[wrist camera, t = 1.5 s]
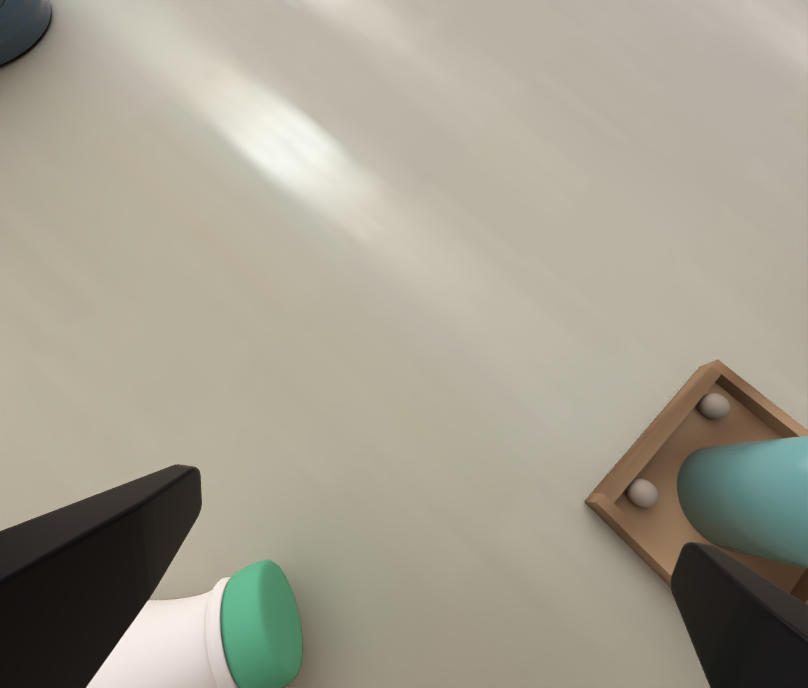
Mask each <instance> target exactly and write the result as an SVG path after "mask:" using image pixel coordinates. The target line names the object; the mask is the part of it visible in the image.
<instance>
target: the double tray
mask: <svg viewBox="0 0 808 688" xmlns="http://www.w3.org/2000/svg"><path fill="white" fill-rule="evenodd" d="M800 436H808V430H807V429H805V428H804V427H803V426H802V425H800V424H799V423H798V422H797V421H795V420H794V419H793V418H791V417H790V416H789V415H788V414H786V413H785V412H784V411H783V410H781V409H780V408H779V407H777V406H776V405H775V404H774V403H772V402H771V401H770V400H769V399H767V398H766V397H765V396H764V395H762V394H761V393H760V392H758V391H757V390H756V389H755V388H753V387H752V386H751V385H750V384H748V383H747V382H746V381H744V380H743V379H742V378H741V377H739V376H738V375H737V374H736V373H734V372H733V371H732V370H731V369H729V368H728V367H727V366H725V365H724V364H723V363H722V362H720V361H719V360H715V361H713V362H710V363H708V364H705V365H703V366H700V367H699V368H698V370H697V371H696V372H695V373H694V374H693V375H692V377H691V378H690V379H689V380H688V381H687V382H686V384H685V385H684V386H683V387H682V388H681V389H680V391H679V392H678V393H677V394H676V395H675V396H674V398H673V399H672V400H671V401H670V402H669V403H668V405H667V406H666V407H665V408H664V409H663V410H662V412H661V413H660V414H659V415H658V416H657V417H656V419H655V420H654V421H653V422H652V423H651V424H650V426H649V427H648V428H647V429H646V430H645V431H644V433H643V434H642V435H641V436H640V437H639V438H638V439H637V441H636V442H635V443H634V444H633V445H632V446H631V448H630V449H629V450H628V451H627V452H626V453H625V455H624V456H623V457H622V458H621V459H620V460H619V462H618V463H617V464H616V465H615V466H614V467H613V469H612V470H611V471H610V472H609V473H608V474H607V476H606V477H605V478H604V479H603V480H602V481H601V483H600V484H599V485H598V486H597V487H596V488H595V490H594V491H593V492H592V493H591V494H590V495H589V497H588V498H587V499H586V500H585V502H586V503H587V504H588V505H589V506H590V507H591V508H592V509H593V510H594V511H595V512H596V513H597V514H598V515H599V516H600V517H601V518H602V519H603V520H604V521H605V522H606V523H607V524H608V525H609V526H610V527H611V528H612V529H613V530H614V531H615V532H616V533H617V534H618V535H619V536H620V537H621V538H622V539H623V540H624V541H625V542H626V543H627V544H628V545H629V546H630V547H631V548H632V549H633V550H634V551H635V552H636V553H637V554H638V555H639V556H640V557H641V558H642V559H643V560H644V561H645V562H646V563H647V564H648V565H649V566H650V567H651V568H653V569H654V570H655V571H656V572H657V573H658V574H659V575H660V576H661V577H662V578H663V579H664V580H665V581H666V582H667V583H668V584H669V585H670V586H671V575H672V572H673V570H674V567H675V564H676V562H677V559H678V556H679V554H680V551H681V549H682V547H683V545H684V544H685V543H687V542H696V543H703V544H709V545H713V546H715V547H717V548H719V549H720V550H722V551H723V552H725V553H726V554H728V555H730V556H731V557H733V558H734V559H736V560H737V561H739V562H741V563H742V564H744V565H745V566H747V567H749V568H750V569H752V570H753V571H755V572H756V573H758V574H760V575H761V576H763V577H764V578H766V579H767V580H769V581H771V582H772V583H774V584H775V585H777V586H778V587H780V588H782V589H783V590H785V591H786V592H788V593H789V594H791V595H793V596H794V597H796V598H797V599H799V600H800V601H802V602H804V603H805V604H807V605H808V569H807V568H803V567H798V566H794V565H789V564H785V563H781V562H776V561H772V560H767V559H763V558H759V557H754V556H750V555H745V554H741V553H737V552H732V551H729V550H725V549H723V548H720V547H718V546H716V545H714V544H712V543H711V542H709V541H708V540H706V539H705V538H704V537H703V536H702V535H700V534H699V533H698V532H697V531H696V530H695V528H694V527H693V526H692V525H691V523H690V522H689V521H688V519H687V517H686V516H685V514H684V512H683V510H682V508H681V505H680V502H679V498H678V493H677V478H678V473H679V470H680V467H681V465H682V463H683V462H684V460H685V459H686V458H687V457H688V456H689V455H690V454H691V453H693V452H694V451H696V450H698V449H700V448H703V447H707V446H715V445H724V444H734V443H743V442H753V441H762V440H772V439H781V438H790V437H800Z"/></svg>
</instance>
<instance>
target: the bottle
mask: <svg viewBox="0 0 808 688" xmlns="http://www.w3.org/2000/svg"><path fill="white" fill-rule="evenodd" d="M677 493H678V498H679V502H680V505H681V508H682V510H683V512H684V514H685V516H686V517H687V519H688V521H689V522H690V523H691V525H692V526H693V527H694V528H695V530H696V531H697V532H698V533H699V534H700V535H702V536H703V537H704V538H705V539H706V540H708V541H709V542H711V543H712V544H714V545H716V546H718V547H720V548H723V549H725V550H729V551H732V552H737V553H741V554H745V555H750V556H754V557H759V558H763V559H767V560H772V561H776V562H781V563H785V564H789V565H794V566H798V567H803V568H807V569H808V436H800V437H790V438H781V439H772V440H762V441H753V442H743V443H734V444H724V445H715V446H707V447H703V448H700V449H698V450H696V451H694V452H693V453H691V454H690V455H689V456H688V457H687V458H686V459H685V460H684V462H683V463H682V465H681V467H680V470H679V473H678V478H677Z"/></svg>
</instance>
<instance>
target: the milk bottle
mask: <svg viewBox="0 0 808 688" xmlns="http://www.w3.org/2000/svg"><path fill="white" fill-rule="evenodd" d="M302 651H303V643H302V630H301V623H300V617H299V613H298V608H297V604H296V601H295V597H294V595H293V592H292V589H291V587H290V584H289V582H288V580H287V578H286V576H285V574H284V573H283V571H282V570H281V568H280V567H279V566H278V565H277V564H276V563H274V562H273V561H271V560H264V561H259V562H257V563H255V564H252V565H250V566H248V567H246V568H244V569H242V570H240V571H238V572H236V573H235V574H234V575H233V576H231V577H227V578H223V579H221V580H220V581H218V582H217V583H216V585H215V586H214V588H213V590H212V591H210V592H207V593H204V594H201V595H198V596H193V597H188V598H182V599H174V600H148V601H147V603H146V604H145V606H144V607H143V608H142V610H141V611H140V613H139V614H138V616H137V617H136V618H135V620H134V621H133V623H132V624H131V625H130V627H129V628H128V630H127V631H126V632H125V634H124V635H123V637H122V638H121V639H120V641H119V642H118V644H117V645H116V646H115V648H114V649H113V651H112V652H111V653H110V655H109V656H108V658H107V659H106V660H105V662H104V663H103V665H102V666H101V668H100V669H99V670H98V672H97V673H96V675H95V676H94V677H93V679H92V680H91V682H90V683H89V684H88V686H87V687H86V688H283V687H285V686H287V685H288V684H289V683H290V682H292V681H293V680H294V679H295V678H296V676H297V675H298V672H299V669H300V666H301V661H302Z"/></svg>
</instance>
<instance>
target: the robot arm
mask: <svg viewBox="0 0 808 688" xmlns="http://www.w3.org/2000/svg"><path fill="white" fill-rule="evenodd" d="M201 506H202V496H201V475H200V471H199V469H198V468H196V467H193V466H187V465H179V464H177V465H173V466H170V467H168V468H165V469H162V470H160V471H157V472H154V473H152V474H149V475H147V476H144V477H141V478H139V479H136V480H133V481H131V482H128V483H126V484H123V485H120V486H118V487H115V488H112V489H110V490H107V491H105V492H102V493H99V494H97V495H94V496H91V497H89V498H86V499H84V500H81V501H78V502H76V503H73V504H70V505H68V506H65V507H63V508H60V509H57V510H55V511H52V512H49V513H47V514H44V515H42V516H39V517H36V518H34V519H31V520H28V521H26V522H23V523H21V524H18V525H15V526H13V527H10V528H7V529H5V530H2V531H0V688H86V687H87V686H88V684H89V683H90V682H91V680H92V679H93V677H94V676H95V675H96V673H97V672H98V670H99V669H100V668H101V666H102V665H103V663H104V662H105V660H106V659H107V658H108V656H109V655H110V653H111V652H112V651H113V649H114V648H115V646H116V645H117V644H118V642H119V641H120V639H121V638H122V637H123V635H124V634H125V632H126V631H127V630H128V628H129V627H130V625H131V624H132V623H133V621H134V620H135V618H136V617H137V616H138V614H139V613H140V611H141V610H142V608H143V607H144V606H145V604H146V603H147V601H148V600H149V598H150V597H151V595H152V594H153V592H154V590H155V589H156V587H157V586H158V584H159V582H160V581H161V579H162V577H163V575H164V574H165V572H166V570H167V569H168V567H169V565H170V564H171V562H172V560H173V558H174V557H175V555H176V553H177V552H178V550H179V548H180V547H181V545H182V543H183V541H184V540H185V538H186V536H187V535H188V533H189V531H190V530H191V528H192V526H193V524H194V523H195V521H196V519H197V518H198V516H199V513H200V510H201ZM671 589H672V593H673V596H674V598H675V601H676V603H677V606H678V608H679V611H680V613H681V616H682V618H683V621H684V623H685V626H686V628H687V631H688V633H689V636H690V638H691V641H692V643H693V646H694V648H695V651H696V653H697V656H698V658H699V661H700V663H701V666H702V668H703V671H704V673H705V676H706V678H707V680H708V683H709V685H710V687H711V688H808V605H807V604H805V603H804V602H802V601H800V600H799V599H797V598H796V597H794V596H793V595H791V594H789V593H788V592H786V591H785V590H783V589H782V588H780V587H778V586H777V585H775V584H774V583H772V582H771V581H769V580H767V579H766V578H764V577H763V576H761V575H760V574H758V573H756V572H755V571H753V570H752V569H750V568H749V567H747V566H745V565H744V564H742V563H741V562H739V561H737V560H736V559H734V558H733V557H731V556H730V555H728V554H726V553H725V552H723V551H722V550H720V549H719V548H717V547H715V546H713V545H709V544H703V543H696V542H687V543H685V544H684V545H683V547H682V549H681V551H680V554H679V556H678V559H677V562H676V564H675V567H674V570H673V572H672V575H671Z"/></svg>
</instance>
